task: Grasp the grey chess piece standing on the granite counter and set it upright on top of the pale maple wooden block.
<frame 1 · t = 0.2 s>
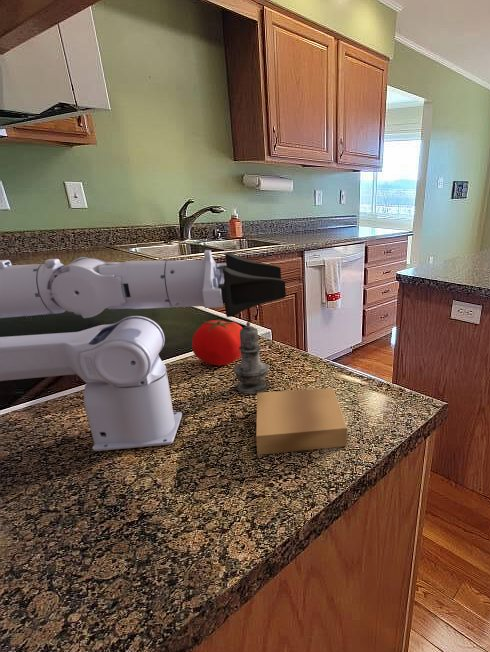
hand: (283, 281, 52), 21 cm above the countertop, tool horizontal, fingers open, 7 cm apart
tomato: (222, 362, 79), on the countertop
grey chess piece: (252, 387, 70), on the countertop
block: (299, 426, 59), on the countertop
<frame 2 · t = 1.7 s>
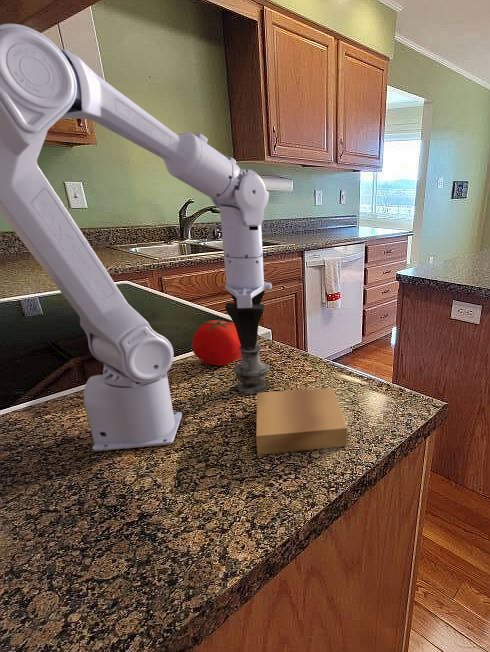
hand: (249, 338, 66), 9 cm above the countertop, tool pointing down, fingers open, 7 cm apart
nothing on the countertop moved.
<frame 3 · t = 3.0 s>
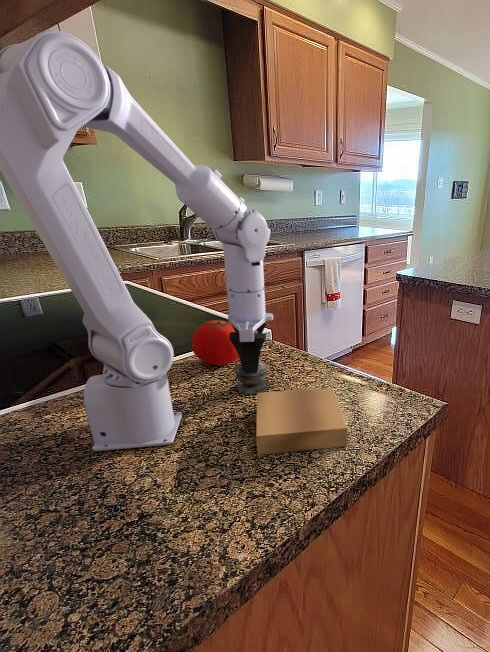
hand: (251, 366, 68), 4 cm above the countertop, tool pointing down, fingers closed on grey chess piece, 4 cm apart
grey chess piece: (252, 387, 70), on the countertop, touching gripper
everything else where it was.
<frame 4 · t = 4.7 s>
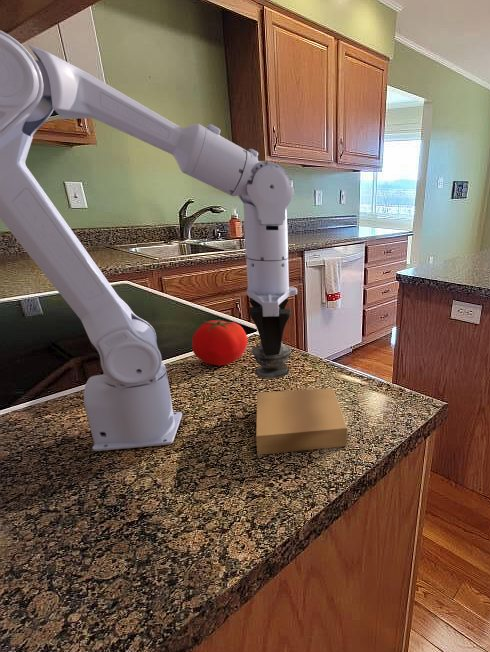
hand: (271, 348, 60), 10 cm above the countertop, tool pointing down, fingers closed on grey chess piece, 4 cm apart
grey chess piece: (272, 372, 62), point 6 cm above the countertop, touching gripper
everything else where it was.
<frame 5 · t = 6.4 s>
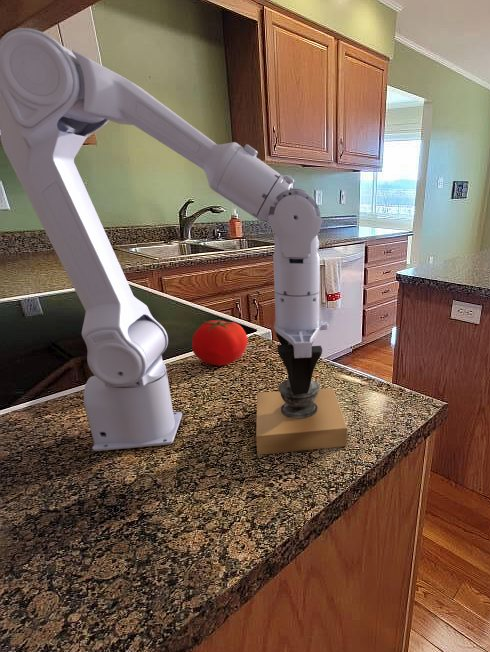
hand: (298, 385, 56), 7 cm above the countertop, tool pointing down, fingers closed on grey chess piece, 4 cm apart
grey chess piece: (299, 410, 58), point 3 cm above the countertop, touching block, gripper
everything else where it was.
when the fingers open (7 cm above the countertop, at t = 6.6 s): grey chess piece stays where it is, resting on block.
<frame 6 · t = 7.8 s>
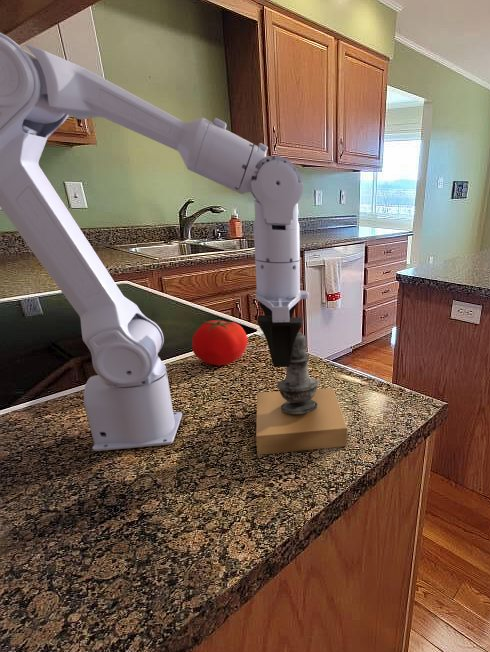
hand: (280, 355, 57), 10 cm above the countertop, tool pointing down, fingers open, 7 cm apart
grey chess piece: (299, 407, 58), point 3 cm above the countertop, touching block
everything else where it was.
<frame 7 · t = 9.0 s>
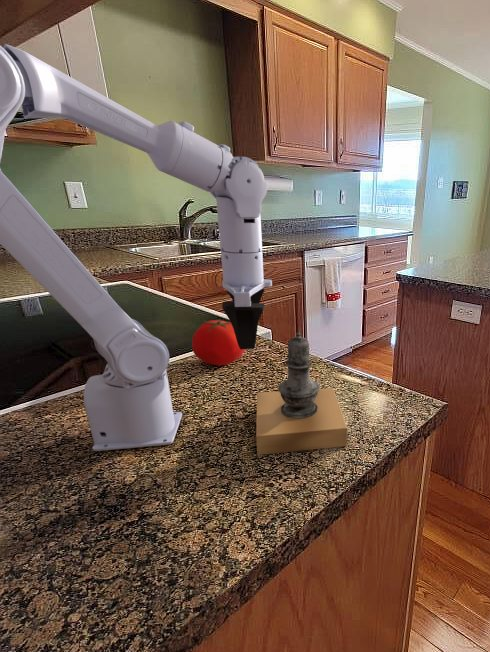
hand: (247, 339, 62), 10 cm above the countertop, tool pointing down, fingers open, 7 cm apart
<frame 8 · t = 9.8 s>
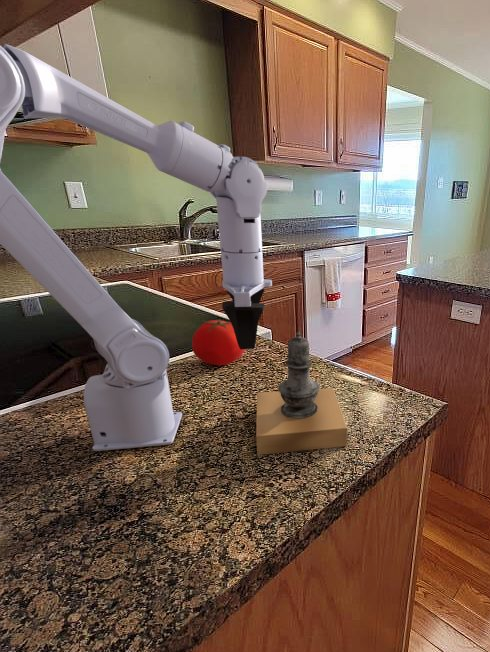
hand: (247, 339, 62), 10 cm above the countertop, tool pointing down, fingers open, 7 cm apart
nothing on the countertop moved.
at the end: grey chess piece inside the target area on the block (0.0 cm from its centre), point 2.8 cm above the block's base; grey chess piece tilted 0°; the gripper is holding nothing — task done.
